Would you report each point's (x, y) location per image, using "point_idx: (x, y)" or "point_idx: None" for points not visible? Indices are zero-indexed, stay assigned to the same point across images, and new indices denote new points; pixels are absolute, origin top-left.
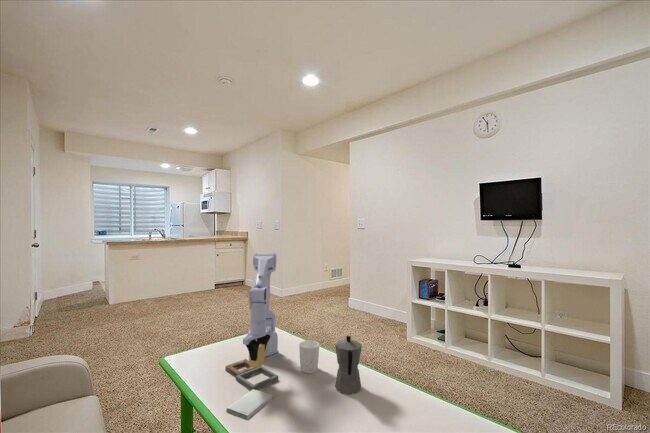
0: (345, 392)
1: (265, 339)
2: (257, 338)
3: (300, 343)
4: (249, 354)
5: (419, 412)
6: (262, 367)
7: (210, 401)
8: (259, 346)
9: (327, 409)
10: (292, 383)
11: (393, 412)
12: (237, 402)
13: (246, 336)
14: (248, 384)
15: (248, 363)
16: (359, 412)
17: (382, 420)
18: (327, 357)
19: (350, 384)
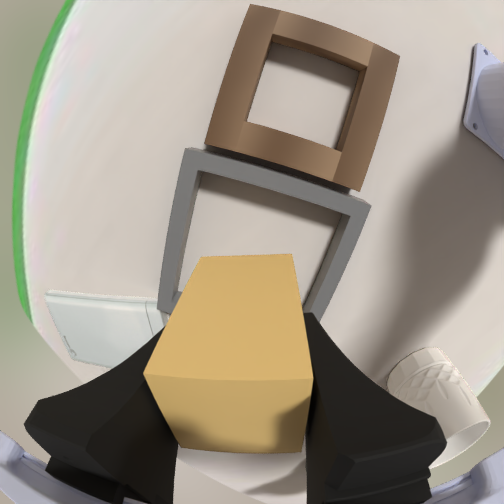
0: (306, 465)
1: (307, 499)
2: (324, 448)
3: (464, 427)
4: (174, 314)
5: (296, 500)
6: (356, 227)
7: (37, 202)
8: (225, 444)
9: (229, 458)
10: None
11: (281, 492)
12: (74, 308)
13: (10, 496)
14: (160, 277)
15: (363, 106)
16: (254, 479)
17: (252, 490)
18: (492, 359)
19: None
